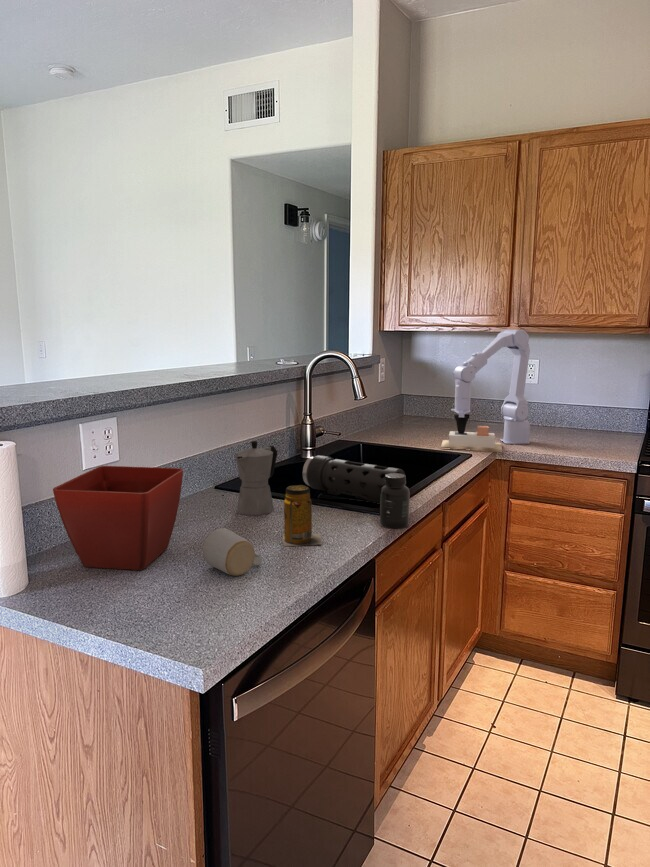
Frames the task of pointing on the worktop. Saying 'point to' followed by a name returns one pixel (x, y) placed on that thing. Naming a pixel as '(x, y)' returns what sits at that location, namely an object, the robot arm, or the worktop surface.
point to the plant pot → (120, 514)
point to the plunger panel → (471, 440)
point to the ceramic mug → (229, 552)
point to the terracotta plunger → (483, 431)
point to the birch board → (496, 447)
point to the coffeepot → (255, 479)
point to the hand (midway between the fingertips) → (461, 433)
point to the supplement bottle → (394, 502)
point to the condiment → (298, 518)
